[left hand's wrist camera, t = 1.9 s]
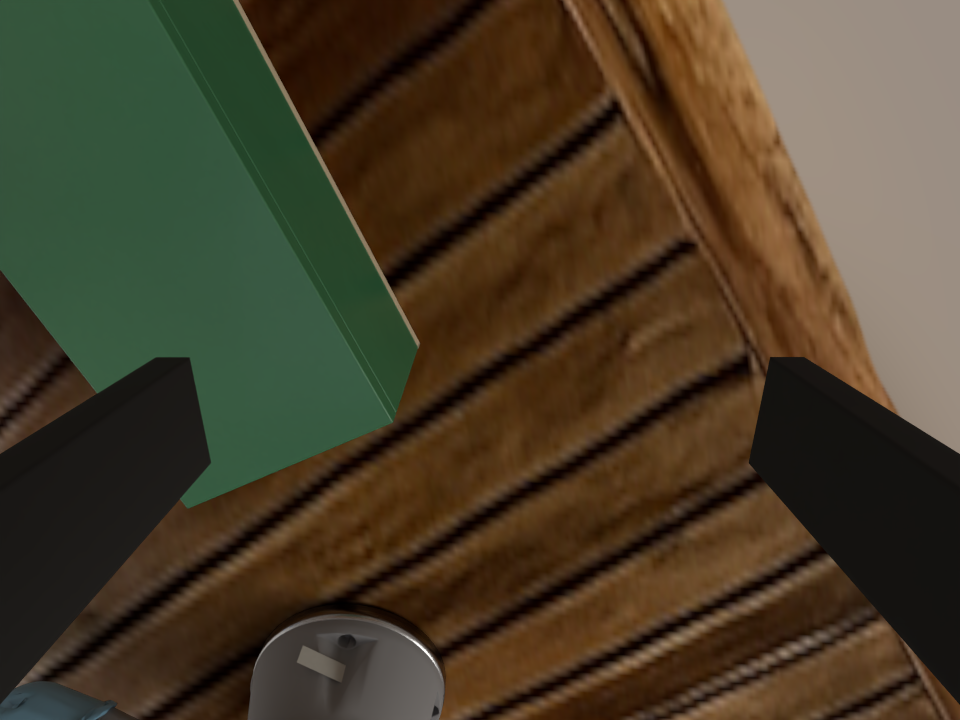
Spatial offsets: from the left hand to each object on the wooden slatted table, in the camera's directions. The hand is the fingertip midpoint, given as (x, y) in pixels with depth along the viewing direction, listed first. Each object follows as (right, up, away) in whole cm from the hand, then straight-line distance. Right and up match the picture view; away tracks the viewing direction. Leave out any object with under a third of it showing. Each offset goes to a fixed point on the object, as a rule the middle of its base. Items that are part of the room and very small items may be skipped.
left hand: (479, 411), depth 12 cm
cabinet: (-13, +9, +19) cm, 25 cm away
